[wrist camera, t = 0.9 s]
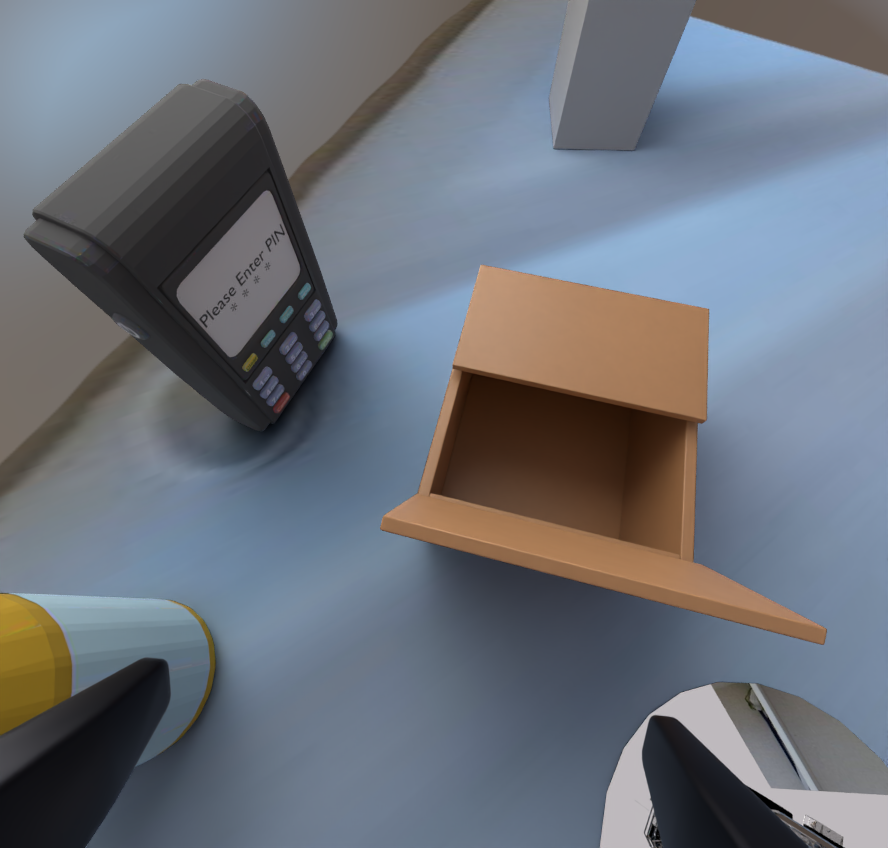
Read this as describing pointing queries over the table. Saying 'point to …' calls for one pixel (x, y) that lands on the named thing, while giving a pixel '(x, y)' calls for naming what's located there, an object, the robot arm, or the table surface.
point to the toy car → (764, 768)
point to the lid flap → (594, 563)
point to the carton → (575, 411)
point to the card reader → (197, 250)
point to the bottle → (100, 654)
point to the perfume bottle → (612, 69)
